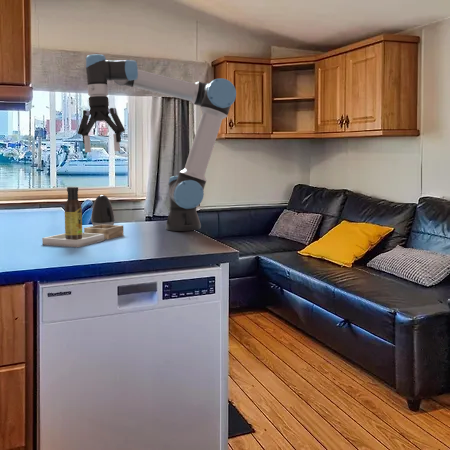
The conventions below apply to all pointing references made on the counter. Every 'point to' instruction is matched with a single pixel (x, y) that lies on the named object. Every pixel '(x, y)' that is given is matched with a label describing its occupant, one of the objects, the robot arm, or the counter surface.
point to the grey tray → (62, 241)
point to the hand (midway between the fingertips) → (102, 151)
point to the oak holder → (106, 230)
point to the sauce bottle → (73, 215)
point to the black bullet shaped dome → (102, 211)
